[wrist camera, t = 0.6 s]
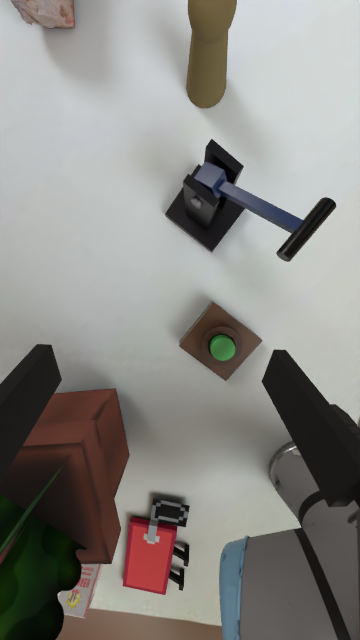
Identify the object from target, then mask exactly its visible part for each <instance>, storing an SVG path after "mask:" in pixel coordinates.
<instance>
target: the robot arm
mask: <svg viewBox="0 0 360 640" xmlns="http://www.w3.org/2000/svg"><path fill="white" fill-rule="evenodd" d="M61 380H62V379H61V376H60V372H59V369H58V366H57V362H56V359H55V356H54V352H53V349H52V346H51V345H44V344H37V345H36V346H35V347H34V348H33V349H32V350H31V351H30V352H29V353H28V354H27V355H26V357H25V358H24V359H23V360H22V361H21V362H20V363H19V364H18V365H17V366H16V367H15V369H14V370H13V371H12V372H11V373H10V374H9V375H8V376H7V377H6V378H5V379H4V380H3V382H2V383H1V384H0V483H1V481H2V480H3V478H4V476H5V475H6V473H7V471H8V470H9V468H10V466H11V465H12V463H13V461H14V460H15V458H16V456H17V455H18V453H19V451H20V449H21V448H22V446H23V444H24V443H25V441H26V439H27V438H28V436H29V434H30V433H31V431H32V429H33V428H34V426H35V424H36V422H37V421H38V419H39V417H40V416H41V414H42V412H43V411H44V409H45V407H46V406H47V404H48V402H49V401H50V399H51V397H52V396H53V394H54V392H55V390H56V389H57V387H58V385H59V384H60V382H61ZM262 383H263V385H264V387H265V389H266V391H267V392H268V394H269V396H270V398H271V400H272V402H273V404H274V406H275V407H276V409H277V411H278V413H279V415H280V417H281V419H282V420H283V422H284V424H285V426H286V428H287V430H288V432H289V434H290V435H291V437H292V439H293V442H291V443H288V444H287V445H285V446H283V447H282V448H281V449H279V450H278V451H277V452H276V454H275V455H274V456H273V458H272V460H271V463H270V467H269V474H270V478H271V480H272V483H273V485H274V488H275V490H276V491H277V493H278V494H279V496H280V497H281V498H282V499H283V501H284V502H285V503H286V505H287V506H288V507H289V509H290V510H291V511H292V512H293V514H294V515H295V516H296V518H297V519H298V521H299V523H300V525H301V527H302V528H298V529H292V530H286V531H281V532H276V533H271V534H266V535H260V536H255V537H249V536H246V537H245V538H244V539H240V540H236V541H233V542H229V543H228V544H226V545H225V547H224V549H223V551H222V554H221V559H220V573H219V590H220V610H221V622H222V632H223V640H360V428H359V427H357V424H356V423H355V422H354V421H353V420H352V419H351V417H350V416H349V415H348V414H347V413H346V412H345V411H343V410H342V409H341V408H339V407H338V406H337V405H336V404H329V403H328V402H327V400H326V399H325V398H324V397H323V395H322V394H321V393H320V392H319V390H318V389H317V388H316V387H315V386H314V384H313V383H312V382H311V381H310V379H309V378H308V377H307V376H306V374H305V373H304V372H303V371H302V370H301V368H300V367H299V366H298V365H297V363H296V362H295V361H294V360H293V358H292V357H291V356H290V355H289V354H288V352H287V351H286V350H274V351H273V353H272V356H271V359H270V361H269V364H268V366H267V369H266V372H265V374H264V377H263V379H262Z"/></svg>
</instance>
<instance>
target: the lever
mask: <svg viewBox="0 0 360 640" xmlns="http://www.w3.org/2000/svg"><path fill="white" fill-rule="evenodd" d="M194 179H195V180H197V181H198V182H199V183H200V184H201V185H203V186H204V187H205V188H206V189H207V190H209V191H210V192H211V193H212V194H213V195H215V196H216V197H217V198H218V199H219V197H220V196H221V195H222V196H224V197H226V198H227V199H229V200H231V201H233V202H235V203H237V204H238V205H240V206H242V207H244V208H246V209H248V210H249V211H251V212H253V213H255V214H257V215H259V216H260V217H262V218H264V219H266V220H268V221H270V222H271V223H273V224H275V225H277V226H279V227H281V228H282V229H284V230H286V231H288V232H290V233H292V234H291V235H290V237H289V238H288V239H287V240H286V242H285V243H284V244H283V245H282V246H281V248H280V249H279V250H278V251H277V253H276V254H277V255H278V257H279V258H281V259H282V260H284V261H287V262H289V261H291V259H292V258H293V257H294V256H295V255H296V254H297V252H298V251H299V250H300V249H301V248H302V247H303V245H304V244H305V243H306V242H307V241H308V240H309V238H310V237H311V236H312V235H313V234H314V233H315V231H316V230H317V229H318V228H319V227H320V225H321V224H322V223H323V222H324V221H325V220H326V218H327V217H328V216H329V215H330V214H331V213H332V211H333V210H334V209H335V208H336V203H335V202H334V201H333V200H332V199H330V198H322V199H320V201H319V202H318V203H317V204H316V205H315V207H314V208H313V209H312V210H311V211H310V213H309V214H308V215H307V216H306V217H305V219H304V220H301V219H300V218H298V217H296V216H294V215H292V214H290V213H288V212H286V211H284V210H282V209H280V208H278V207H276V206H274V205H272V204H270V203H268V202H266V201H264V200H262V199H260V198H258V197H256V196H254V195H252V194H250V193H249V192H247V191H245V190H243V189H241V188H239V187H237V186H235V185H233V184H231V183H229V182H227V178H226V174H225V170H223V169H221V168H219V167H217V166H215V165H213V164H211V163H209V162H207V161H205V163H204V164H203V166H202V167H201V168H200V170H199V171H198V173H197V174H196V176H195V177H194Z"/></svg>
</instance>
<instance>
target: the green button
mask: <svg viewBox="0 0 360 640" xmlns="http://www.w3.org/2000/svg"><path fill="white" fill-rule="evenodd" d="M210 351H211V354H212V356H213V357H214V358H215V359H217V360H220V361H225V360H228V359H230V358H231V357H232V356H233V355H234V353H235V345H234V343H233V342H232V340H231V339H230V338H229V337H228V336H226V335H218V336H216V337H214V338H213V339H212V340H211V342H210Z"/></svg>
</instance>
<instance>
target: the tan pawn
mask: <svg viewBox="0 0 360 640" xmlns="http://www.w3.org/2000/svg"><path fill="white" fill-rule="evenodd" d="M236 5H237V0H188V15H189V20H190V24H191V28H192V36H191V45H190V55H189V64H188V73H187V85H186V89H187V93H188V97H189V98H190V100H191V102H192V103H193V104H195V105H196V106H198V107H200V108H210V107H212V106H214V105H216V104H217V103H218V102H219V101H220V100H221V98H222V97H223V95H224V92H225V89H226V71H227V46H228V29H229V28H230V26H231V23H232V20H233V17H234V14H235V10H236Z"/></svg>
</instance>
